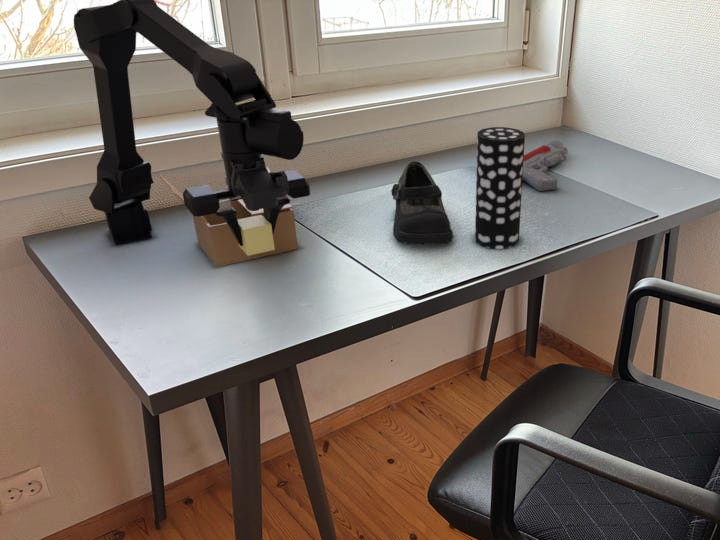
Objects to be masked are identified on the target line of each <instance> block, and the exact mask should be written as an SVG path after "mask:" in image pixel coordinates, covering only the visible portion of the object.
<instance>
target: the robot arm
mask: <svg viewBox="0 0 720 540" xmlns="http://www.w3.org/2000/svg"><path fill="white" fill-rule="evenodd" d="M73 28H74V30H75V35H76V39H77V43H78V47H79V49H80V50H81V52H82V53H83V54H84V55H85V57H86V58H87V59H88V61H89V62H90V64H91V65H92V68H93V76H94V83H95V91H96V99H97V105H98V112H99V121H100V128H101V134H102V136H101V137H102V142H103V143H102V144H103V152H102V155H101V157H100V159H99V161H98V163H97V165H96V184H95V186H94V188H93V189H92V192H91V194H90V195H89V196H88V199H89V201H90V203H91V205H92V207H93V209H94V210H96V211H100V212H103V213H104V215H105V219H106V220H105V221H106V223H107V227H108V230H107V232H108V235H109V237H110V238H111V240H112V242H113V243H114V245H123V244H127V243H133V242H137V241H143V240H147V239H152V238H153V234H152V232H153V228H152V223H151V219H150V214H149V211H148V209H147V208H146V207H145V206H144V205H143V202H144V201H149V200H150V199H151V189H152V184H154V180H153V176H152V165H151V163H150V162H149V161H145V160H144V158H143V157H142V156H141V155H140V154H139V152H138V151H137V145H136V144H137V143H136V136H135V135H136V134H135V126H134V125H135V124H134V116H133V105H132V96H131V87H130V78H129V69H128V67H129V65H130V63H131V60H132V59H133V56H134V55H135V52H136V50H137V48H136V47H137V34H139V35H140V36H142V37H143V38H144V39H146V40H147V41H149V42H150V43H151V44H152V45H153V46H155V47H156V48H157V49H159V50H160V51H161V52H163V53H164V54H165V55H167V56H168V57H170V58H171V59H172V60H173V61H175V62H176V63H177V64H178V65H180V66H181V67H182V68H184V69H185V70H186V71H188V73H189V74H190V75H191V76H192V79H193V81H194V85H195V87H196V88H197V89H198V91H200V92H201V93H202V94H203V95H204V96H205V98H207V100H209V101H210V102H211V103H210V106H209V107H208V108H206V110H205V111H204V115H205V116H206V117H210V118H216V123H217V130H218V136H219V142H220V147H221V152H220V156H221V159H222V160H223V167H224V170H225V171H224V172H225V184H226V185H227V188H225V189H219V190H213V188H212V187H210V186H209V184H203V185H199V186H198V185H197V186H192V187H187V188H185V189H184V191H183V192H182V195H183V199H184V203H185V204H184V203H183V204H184V206H185V208H186V209H187V210H188V211H189V212H190V213H191V214H192V216H193V215H194V216H198V217H199V216H205V215H210V214H216V215H217V216H218V217H223V218H224V219H225V221H226V222H227V224H228V226H229V228H230V229H231V231H232V233H233V235H234V236H235V238H236V240H237V242H238V243H239V245H240V246H243V241H242V235H241V231H240V228H239V224H238V220H237V211H236V210H235V209H234V208H233V207H232V203H231V201H235V200H240V199H242V200H243V202H244V203H245V206H246V208H247V209H248V210H250V211H258V210H259V209H263V211H264V218H265V219H266V220H267V221H268V222H269V223H271V226H272V233H273V234H274V230H275V226H276V222H277V218H278V215H279V212H280V210H281V209H282V208H283V207H284V205H286V204H290V203H291V199H290V198H292V199H293V200H295V199H299V198H305V197H309V196H310V195H311V188H310V182H309V180H308V179H306V178H305V176H303V175H302V174H300V173H299V172H298V171H296V170H295V169H293V170H286V171H284V170H280V171H275V172H274V171H270V173H268V171H267V168H268V167H267V168H266V161H265V158H264V156H269V157H273V158H278V159H283V160H287V161H292V160H294V159H296V158H298V156H299V155H300V154H301V151H302V149H303V146H304V140H305V139H304V131H303V130H302V127H301V125H300V124H299V123H298V122H297V121H296V120H294V119H293V118H292V112H291V111H290V110H285V109H281V110H280V109H279V110H278V109H276V107H277V104H276V102H275V101H274V99H273V97H272V95H271V94H270V92H269V91H268V90H267V88H266V86H265V84H264V83H263V82H262V80H261V78H260V77H259V75H258V74H257V69H255V66H254V65H253V64H252V63H251V62H250V61H248V60H247V59H246V58H243V57H241V56H239V55H237V54H235V53H233V52H231V51H229V50H224V49H220V48H216V47H214V46H212V45H210V44H208V43H207V42H206V41H204V40H203V39H202V38H201V37H199V36H198V35H196V33H194V32H193V31H191V30H190V29H188V28H187V27H186V26H185V25H183V24H182V23H181V22H180V21H178V20H177V19H175V18H174V17H173V16H172V15H170V14H169V13H168V12H166V11H165V10H164V9H162V8H161V7H160V6H158V4H157V2H156V1H155V0H117V1H116V2H113V3H111V4H107V5H98V6H90V7H83V8H80V9H79V10H77V12H76V13H75V14H74V15H73ZM251 99H254V100H251ZM248 100H250V101H248ZM244 101H247V102H244ZM241 102H244V103H241ZM237 103H240V104H237ZM263 155H264V156H263ZM288 196H289V197H290V198H288Z"/></svg>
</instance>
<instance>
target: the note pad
mask: <svg viewBox="0 0 720 540" xmlns="http://www.w3.org/2000/svg"><path fill="white" fill-rule="evenodd" d="M237 220H238V224H239V228H240V231H241V235H242V241H243V246H240V245H239V243H238V245H239V247H240V248H241V249H242V250H243V251H244V252H245V253H246V255H247V256H249V255H254V254H258V253H263V252H267V251H272V250H275V248H274V240H273V233H272V226H271V223H269V222H268V221H267V220H266V219H265V218H264V217H263V216H262V215H258V216H253V217H248V218H243V219H237Z"/></svg>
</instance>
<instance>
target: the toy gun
mask: <svg viewBox="0 0 720 540" xmlns="http://www.w3.org/2000/svg"><path fill="white" fill-rule="evenodd" d="M567 154H569V151H568V148H567V147H566V146H563V142H561V141H557V140H553V141H551V142H549V143H547V144H543V145H541V146H539V147H537V148H535V149H533V150H531V151H529V152H527V153H524V160H523V177H522V181H523V182H524V181H525V182H526V183H527V184H528V185H530V186H531V187H532V188H533V189H535V190H537V191H539V192H546V191H555V190H556V189H557V188H558V182H559V181H558V179H557V178H554V177H552V176H550V175H548V174H546V173H547V172H548V169H549V168H550V167H552V166H555V165H556V164H557V163H560V162H562V161H564V160H566V158H565V157H564V155H567Z"/></svg>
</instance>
